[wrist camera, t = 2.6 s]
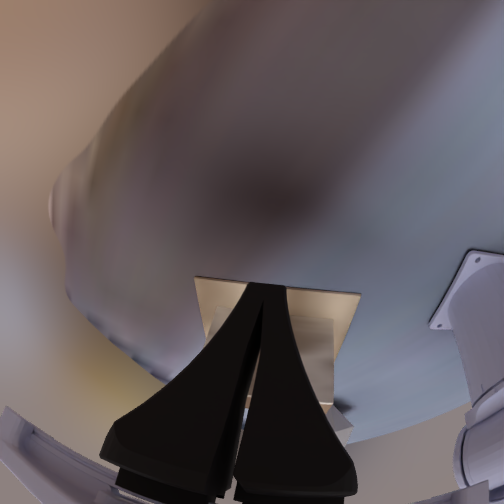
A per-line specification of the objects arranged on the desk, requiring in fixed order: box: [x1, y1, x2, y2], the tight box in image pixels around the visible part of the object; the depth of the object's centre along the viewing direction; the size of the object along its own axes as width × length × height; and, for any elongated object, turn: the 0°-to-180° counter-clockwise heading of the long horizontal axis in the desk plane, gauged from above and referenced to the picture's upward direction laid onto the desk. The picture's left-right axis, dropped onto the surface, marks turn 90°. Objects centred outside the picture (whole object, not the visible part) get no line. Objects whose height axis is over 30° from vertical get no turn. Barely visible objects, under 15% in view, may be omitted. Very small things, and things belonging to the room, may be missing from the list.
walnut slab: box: [203, 306, 334, 415], centre depth 19 cm, size 9×2×7 cm, turn 90°
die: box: [326, 404, 354, 448], centre depth 29 cm, size 8×9×10 cm
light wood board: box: [194, 276, 361, 361], centre depth 25 cm, size 12×16×1 cm
